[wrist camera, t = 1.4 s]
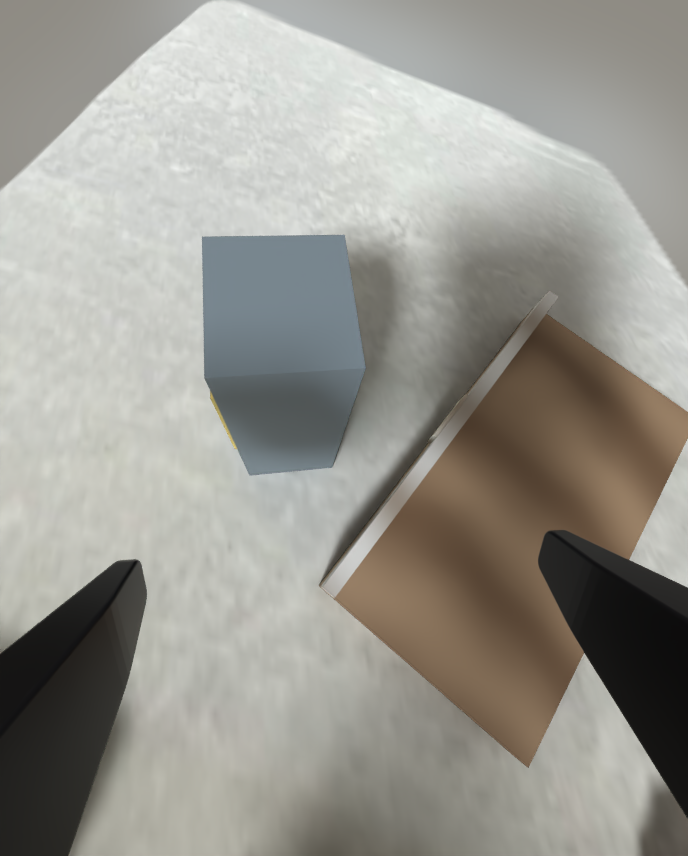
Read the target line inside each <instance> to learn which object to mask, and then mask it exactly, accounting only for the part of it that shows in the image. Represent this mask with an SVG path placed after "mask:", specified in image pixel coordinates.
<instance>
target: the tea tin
mask: <svg viewBox="0 0 688 856" xmlns="http://www.w3.org/2000/svg"><path fill="white" fill-rule="evenodd" d="M202 261H203V319H204V376H205V380H206V382H207V384H208V387H209V389H210V399H211V401H212V403H213V405H214V407H215V409H216V411H217V413H218V415H219V417H220V419H221V421H222V423H223V425H224V428H225V430H226V432H227V434H228V436H229V438H230V440H231V442H232V444H233V446H234V448H235V449H238V451H239V454H240V456H241V458H242V460H243V462H244V464H245V467H246V469H247V471H248V473H249V475H259V474H270V473H280V472H290V471H301V470H311V469H321V468H332V466H333V463H334V460H335V457H336V454H337V451H338V448H339V445H340V442H341V439H342V437H343V434H344V431H345V428H346V425H347V422H348V419H349V416H350V413H351V410H352V407H353V404H354V401H355V398H356V395H357V392H358V389H359V387H360V384H361V381H362V378H363V375H364V372H365V369H366V367H365V361H364V354H363V348H362V342H361V335H360V329H359V323H358V316H357V310H356V304H355V298H354V291H353V285H352V279H351V272H350V266H349V260H348V254H347V247H346V241H345V235H297V236H221V237H202Z"/></svg>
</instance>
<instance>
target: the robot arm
mask: <svg viewBox="0 0 688 856" xmlns="http://www.w3.org/2000/svg"><path fill="white" fill-rule="evenodd" d="M538 565H539V569H540V571H541V573H542V575H543V577H544V579H545V581H546V583H547V585H548V587H549V589H550V591H551V593H552V595H553V597H554V599H555V601H556V603H557V605H558V607H559V609H560V611H561V613H562V615H563V617H564V619H565V621H566V622H567V624H568V626H569V628H570V630H571V632H572V633H573V635H574V637H575V638H576V640H577V642H578V643H579V645H580V646H581V648H582V650H583V651H584V653H585V655H586V656H587V658H588V659H589V661H590V663H591V664H592V666H593V667H594V669H595V671H596V672H597V674H598V675H599V677H600V679H601V680H602V682H603V683H604V685H605V687H606V688H607V690H608V691H609V693H610V695H611V696H612V698H613V699H614V701H615V703H616V704H617V706H618V708H619V709H620V711H621V712H622V714H623V716H624V717H625V719H626V720H627V722H628V724H629V725H630V727H631V728H632V730H633V732H634V733H635V735H636V736H637V738H638V740H639V741H640V743H641V744H642V746H643V748H644V749H645V751H646V753H647V754H648V756H649V757H650V759H651V761H652V762H653V764H654V765H655V767H656V769H657V770H658V772H659V773H660V775H661V777H662V778H663V780H664V781H665V783H666V785H667V786H668V788H669V789H670V791H671V793H672V794H673V796H674V798H675V799H676V801H677V802H678V804H679V806H680V807H681V809H682V810H683V812H684V814H685V815H686V817H687V818H688V588H687V587H685V586H683V585H681V584H679V583H677V582H675V581H672V580H670V579H668V578H666V577H664V576H662V575H660V574H658V573H655V572H653V571H651V570H649V569H647V568H645V567H643V566H641V565H639V564H636V563H634V562H632V561H630V560H628V559H626V558H624V557H622V556H620V555H617V554H615V553H613V552H611V551H609V550H607V549H605V548H603V547H600V546H598V545H596V544H594V543H592V542H590V541H588V540H586V539H584V538H581V537H579V536H577V535H575V534H573V533H571V532H569V531H566V530H550V531H547V532H546V533H545V535H544V538H543V541H542V545H541V549H540V552H539V556H538ZM146 599H147V589H146V584H145V579H144V575H143V570H142V565H141V563H140V561H139V560H137V559H133V560H120V561H117V562H115V563H114V564H112V565H111V566H110V567H108V568H107V569H106V570H105V571H103V572H102V573H101V574H100V575H98V576H97V577H96V578H95V579H93V580H92V581H91V582H90V583H88V584H87V585H86V586H85V587H83V588H82V589H81V590H80V591H78V592H77V593H76V594H75V595H73V596H72V597H71V598H70V599H68V600H67V601H66V602H64V603H63V604H62V605H61V606H59V607H58V608H57V609H56V610H54V611H53V612H52V613H51V614H49V615H48V616H47V617H46V618H44V619H43V620H42V621H41V622H39V623H38V624H37V625H36V626H34V627H33V628H32V629H31V630H29V631H28V632H27V633H26V634H24V635H23V636H22V637H20V638H19V639H18V640H17V641H15V642H14V643H13V644H12V645H10V646H9V647H8V648H7V649H5V650H4V651H3V652H2V653H0V856H68V855H69V852H70V849H71V846H72V843H73V840H74V837H75V835H76V832H77V829H78V826H79V823H80V820H81V817H82V814H83V811H84V808H85V805H86V802H87V799H88V796H89V794H90V791H91V788H92V785H93V782H94V779H95V776H96V773H97V770H98V767H99V764H100V761H101V758H102V756H103V753H104V750H105V747H106V744H107V741H108V738H109V735H110V732H111V729H112V726H113V723H114V720H115V718H116V715H117V712H118V709H119V706H120V703H121V700H122V697H123V694H124V691H125V688H126V685H127V682H128V678H129V675H130V671H131V667H132V662H133V658H134V654H135V649H136V645H137V640H138V636H139V631H140V627H141V623H142V618H143V614H144V609H145V605H146Z"/></svg>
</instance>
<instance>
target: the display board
mask: <svg viewBox="0 0 688 856" xmlns="http://www.w3.org/2000/svg"><path fill="white" fill-rule="evenodd" d="M557 299H558V296H557V295H555V294H554V293H552V292H551V291H550V290H549V291H548V292H547V294H546V295H545V296H544V297H543V298H542V299H541V300H540V301H539V302H538V304H537V305H536V306H535V307H534V308H533V309H532V310H531V311H530V313H529V314H528V315H527V316H526V317H525V318H524V319H523V321H522V322H521V323H520V324H519V326H518V327H517V328H516V330H515V331H514V332H513V334H512V335H511V336H510V338H509V339H508V340H507V341H506V343H505V344H504V345H503V347H502V348H501V349H500V351H499V352H498V353H497V354H496V356H495V357H494V358H493V360H492V361H491V362H490V364H489V365H488V366H487V367H486V369H485V370H484V371H483V373H482V374H481V375H480V377H479V378H478V379H477V380H476V382H475V383H474V384H473V386H472V387H471V388H470V390H469V391H468V392H467V393H466V394H465V395H464V396H463V397H462V398H461V399H460V400H459V401H458V402H457V404H456V405H455V406H454V407H453V409H452V410H451V411H450V413H449V414H448V415H447V417H446V418H445V419H444V420H443V422H442V423H441V424H440V426H439V427H438V428H437V429H436V431H435V432H434V433H433V435H432V436H431V437H430V439H429V440H428V441H427V442H429V443H428V444H427V446H426V447H425V448H424V449H423V451H422V452H421V453H420V455H419V456H418V457H417V459H416V460H415V461H414V462H413V464H412V465H411V466H410V468H409V469H408V470H407V472H406V473H405V474H404V475H403V477H402V478H401V479H400V481H399V482H398V483H397V485H396V486H395V487H394V489H393V490H392V491H391V492H390V494H389V495H388V496H387V498H386V499H385V500H384V502H383V503H382V504H381V505H380V507H379V508H378V509H377V511H376V512H375V513H374V515H373V516H372V517H371V518H370V520H369V521H368V522H367V524H366V525H365V526H364V528H363V529H362V530H361V531H360V533H359V534H358V535H357V537H356V538H355V539H354V541H353V542H352V543H351V544H350V546H349V547H348V548H347V550H346V551H345V552H344V554H343V555H342V556H341V558H340V559H339V560H338V561H337V563H336V564H335V565H334V567H333V568H332V569H331V571H330V572H329V573H328V574H327V576H326V577H325V578H324V580H323V581H322V582H321V584H320V585H319V586H320V587H321V588H322V589H323V590H324V591H325V592H326V593H328V594H329V595H330V596H331V597H332V598H333V599H334V600H336V601H337V602H338V603H339V604H340V605H341V606H342V607H344V608H345V609H346V610H347V611H348V612H349V613H351V614H352V615H353V616H354V617H355V618H356V619H357V620H359V621H360V622H361V623H362V624H363V625H364V626H365V627H367V628H368V629H369V630H370V631H371V632H372V633H373V634H375V635H376V636H377V637H378V638H379V639H380V640H381V641H383V642H384V643H385V644H386V645H387V646H388V647H389V648H391V649H392V650H393V651H394V652H395V653H396V654H398V655H399V656H400V657H401V658H402V659H403V660H404V661H406V662H407V663H408V664H409V665H410V666H411V667H412V668H414V669H415V670H416V671H417V672H418V673H419V674H420V675H422V676H423V677H424V678H425V679H426V680H427V681H428V682H430V683H431V684H432V685H433V686H434V687H435V688H437V689H438V690H439V691H440V692H441V693H442V694H443V695H445V696H446V697H447V698H448V699H449V700H450V701H451V702H453V703H454V704H455V705H456V706H457V707H458V708H459V709H461V710H462V711H463V712H464V713H465V714H466V715H467V716H469V717H470V718H471V719H472V720H473V721H474V722H475V723H477V724H478V725H479V726H480V727H481V728H482V729H484V730H485V731H486V732H487V733H488V734H489V735H490V736H492V737H493V738H494V739H495V740H496V741H497V742H498V743H500V744H501V745H502V746H503V747H504V748H505V749H506V750H508V751H509V752H510V753H511V754H512V755H513V756H515V757H516V758H517V759H518V760H519V761H521V762H522V763H523V764H524V765H525V766H527V767H529V765H530V763H531V761H532V759H533V757H534V755H535V753H536V751H537V749H538V747H539V745H540V743H541V741H542V739H543V736H544V734H545V732H546V730H547V728H548V726H549V724H550V722H551V720H552V718H553V716H554V714H555V712H556V710H557V707H558V705H559V703H560V701H561V699H562V697H563V695H564V693H565V691H566V689H567V687H568V685H569V683H570V681H571V679H572V676H573V674H574V672H575V670H576V668H577V666H578V664H579V662H580V660H581V658H582V656H583V654H584V651H583V650H582V648H581V646H580V645H579V643H578V642H577V640H576V638H575V637H574V635H573V633H572V632H571V630H570V628H569V626H568V624H567V622H566V621H565V619H564V617H563V615H562V613H561V611H560V609H559V607H558V605H557V603H556V601H555V599H554V597H553V595H552V593H551V591H550V589H549V587H548V585H547V583H546V581H545V579H544V577H543V575H542V573H541V571H540V569H539V565H538V556H539V552H540V549H541V545H542V541H543V538H544V535H545V533H546V532H547V531H550V530H566V531H569V532H571V533H573V534H575V535H577V536H579V537H581V538H584V539H586V540H588V541H590V542H592V543H594V544H596V545H598V546H600V547H603V548H605V549H607V550H609V551H611V552H613V553H615V554H617V555H620V556H622V557H624V558H626V559H628V560H629V559H630V557H631V554H632V552H633V550H634V548H635V546H636V544H637V542H638V540H639V538H640V536H641V534H642V532H643V530H644V528H645V526H646V523H647V521H648V519H649V517H650V515H651V513H652V511H653V509H654V507H655V505H656V503H657V501H658V499H659V497H660V495H661V492H662V490H663V488H664V486H665V484H666V482H667V480H668V478H669V476H670V474H671V472H672V470H673V468H674V466H675V463H676V461H677V459H678V457H679V455H680V453H681V451H682V449H683V447H684V445H685V443H686V441H687V439H688V412H687V411H685V410H684V409H683V408H681V407H680V406H678V405H677V404H675V403H674V402H672V401H671V400H670V399H668V398H667V397H665V396H664V395H662V394H661V393H660V392H658V391H657V390H655V389H654V388H652V387H651V386H649V385H648V384H647V383H645V382H644V381H642V380H641V379H639V378H638V377H636V376H635V375H634V374H632V373H631V372H629V371H628V370H626V369H625V368H624V367H622V366H621V365H619V364H618V363H616V362H615V361H613V360H612V359H611V358H609V357H608V356H606V355H605V354H603V353H602V352H600V351H599V350H598V349H596V348H595V347H593V346H592V345H590V344H589V343H588V342H586V341H585V340H583V339H582V338H580V337H579V336H577V335H576V334H575V333H573V332H572V331H570V330H569V329H567V328H566V327H565V326H563V325H562V324H560V323H559V322H557V321H556V320H554V319H553V318H552V317H550V316H549V315H547V314H546V313H547V312H548V311H549V309H550V308H551V307H552V305H553V304H554V303H555V301H556V300H557Z"/></svg>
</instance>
